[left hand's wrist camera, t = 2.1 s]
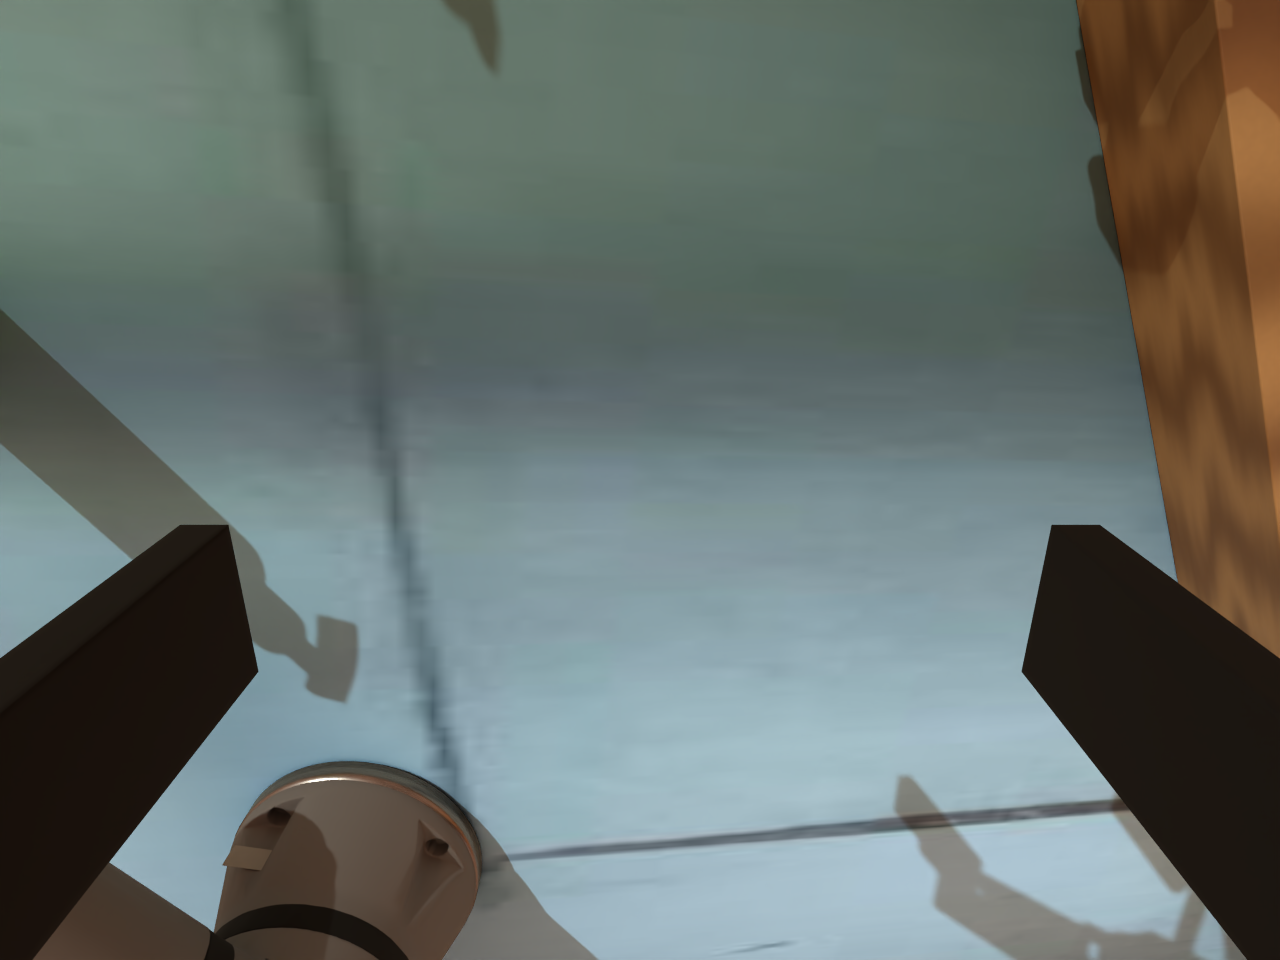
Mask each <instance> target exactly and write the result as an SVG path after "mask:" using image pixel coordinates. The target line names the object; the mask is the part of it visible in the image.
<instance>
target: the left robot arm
mask: <svg viewBox="0 0 1280 960" xmlns="http://www.w3.org/2000/svg"><path fill="white" fill-rule="evenodd" d="M257 673H258V667H257V662H256V657H255V653H254V648H253V643H252V638H251V633H250V628H249V623H248V618H247V614H246V609H245V604H244V599H243V594H242V589H241V584H240V579H239V575H238V570H237V565H236V560H235V555H234V550H233V545H232V540H231V536H230V531H229V526H228V525H180V526H178V527H177V528H175V529H174V530H173V531H171V532H170V533H169V534H167V535H166V536H165V537H163V538H162V539H161V540H159V541H158V542H157V543H155V544H154V545H153V546H151V547H150V548H148V549H147V550H146V551H144V552H143V553H142V554H140V555H139V556H138V557H136V558H135V559H134V560H132V561H131V562H130V563H128V564H127V565H126V566H124V567H123V568H121V569H120V570H119V571H117V572H116V573H115V574H113V575H112V576H111V577H109V578H108V579H107V580H105V581H104V582H103V583H101V584H100V585H99V586H97V587H96V588H94V589H93V590H92V591H90V592H89V593H88V594H86V595H85V596H84V597H82V598H81V599H80V600H78V601H77V602H76V603H74V604H73V605H72V606H70V607H69V608H67V609H66V610H65V611H63V612H62V613H61V614H59V615H58V616H57V617H55V618H54V619H53V620H51V621H50V622H49V623H47V624H46V625H45V626H43V627H42V628H40V629H39V630H38V631H36V632H35V633H34V634H32V635H31V636H30V637H28V638H27V639H26V640H24V641H23V642H22V643H20V644H19V645H18V646H16V647H15V648H13V649H12V650H11V651H9V652H8V653H7V654H5V655H4V656H3V657H1V658H0V960H442V959H443V957H444V955H445V954H446V952H447V951H448V949H449V948H450V946H451V945H452V943H453V942H454V940H455V938H456V937H457V935H458V934H459V932H460V931H461V929H462V928H463V926H464V924H465V923H466V921H467V918H468V916H469V915H470V912H471V910H472V908H473V906H474V902H475V899H476V895H477V891H478V887H479V882H480V878H481V872H482V855H481V849H480V845H479V842H478V839H477V836H476V834H475V832H474V829H473V827H472V826H471V824H470V822H469V821H468V819H467V818H466V816H465V815H464V814H463V813H462V811H461V810H460V809H459V808H458V807H457V806H456V805H455V804H454V803H453V801H451V800H450V799H449V798H448V797H447V796H446V795H444V794H443V793H442V792H440V791H439V790H438V789H436V788H435V787H433V786H432V785H430V784H428V783H427V782H425V781H423V780H421V779H419V778H417V777H415V776H413V775H411V774H408V773H406V772H404V771H401V770H398V769H395V768H391V767H388V766H383V765H379V764H373V763H367V762H356V761H338V762H327V763H321V764H316V765H312V766H308V767H304V768H302V769H299V770H296V771H294V772H292V773H289V774H287V775H285V776H284V777H282V778H280V779H279V780H277V781H276V782H274V783H273V784H272V785H270V786H269V787H268V788H267V789H266V790H265V791H264V792H263V793H262V794H261V795H260V796H259V797H258V798H257V800H256V801H255V803H254V804H253V806H252V807H251V809H250V810H249V812H248V814H247V815H246V817H245V818H244V820H243V822H242V823H241V825H240V826H239V829H238V831H237V833H236V835H235V839H234V842H233V844H232V847H231V851H230V853H229V855H228V857H227V858H226V860H225V861H224V863H223V865H224V866H227V870H226V875H225V880H224V885H223V889H222V894H221V899H220V904H219V909H218V914H217V919H216V924H215V929H214V932H212V931H211V930H210V929H208V928H207V927H206V926H204V925H203V924H201V923H200V922H198V921H197V920H195V919H194V918H192V917H191V916H189V915H188V914H186V913H185V912H183V911H182V910H180V909H179V908H177V907H176V906H174V905H173V904H171V903H170V902H168V901H167V900H165V899H164V898H162V897H161V896H159V895H158V894H156V893H155V892H153V891H152V890H150V889H148V888H147V887H145V886H144V885H142V884H141V883H139V882H138V881H136V880H135V879H133V878H132V877H130V876H129V875H127V874H126V873H124V872H123V871H121V870H120V869H118V868H117V867H115V866H114V865H112V864H111V863H109V862H110V860H111V859H112V858H113V857H114V855H115V854H116V853H117V851H118V850H119V849H120V848H121V846H122V845H123V844H124V842H125V841H126V840H127V839H128V837H129V836H130V835H131V834H132V832H133V831H134V830H135V828H136V827H137V826H138V825H139V823H140V822H141V821H142V819H143V818H144V817H145V816H146V814H147V813H148V812H149V811H150V809H151V808H152V807H153V805H154V804H155V803H156V802H157V800H158V799H159V798H160V797H161V795H162V794H163V793H164V791H165V790H166V789H167V788H168V786H169V785H170V784H171V782H172V781H173V780H174V779H175V777H176V776H177V775H178V774H179V772H180V771H181V770H182V768H183V767H184V766H185V765H186V763H187V762H188V761H189V759H190V758H191V757H192V756H193V754H194V753H195V752H196V751H197V749H198V748H199V747H200V745H201V744H202V743H203V742H204V740H205V739H206V738H207V737H208V735H209V734H210V733H211V731H212V730H213V729H214V728H215V726H216V725H217V724H218V722H219V721H220V720H221V719H222V717H223V716H224V715H225V714H226V712H227V711H228V710H229V708H230V707H231V706H232V705H233V703H234V702H235V701H236V699H237V698H238V697H239V696H240V694H241V693H242V692H243V691H244V689H245V688H246V687H247V685H248V684H249V683H250V682H251V680H252V679H253V678H254V677H255V675H256V674H257ZM1022 673H1023V674H1024V675H1025V677H1026V678H1027V679H1028V680H1029V682H1030V683H1031V684H1032V685H1033V687H1034V688H1035V689H1036V691H1037V692H1038V693H1039V694H1040V696H1041V697H1042V698H1043V699H1044V701H1045V702H1046V703H1047V705H1048V706H1049V707H1050V708H1051V710H1052V711H1053V712H1054V714H1055V715H1056V716H1057V717H1058V719H1059V720H1060V721H1061V722H1062V724H1063V725H1064V726H1065V728H1066V729H1067V730H1068V731H1069V733H1070V734H1071V735H1072V737H1073V738H1074V739H1075V740H1076V742H1077V743H1078V744H1079V745H1080V747H1081V748H1082V749H1083V751H1084V752H1085V753H1086V754H1087V756H1088V757H1089V758H1090V759H1091V761H1092V762H1093V763H1094V765H1095V766H1096V767H1097V768H1098V770H1099V771H1100V772H1101V774H1102V775H1103V776H1104V777H1105V779H1106V780H1107V781H1108V782H1109V784H1110V785H1111V786H1112V788H1113V789H1114V790H1115V791H1116V793H1117V794H1118V795H1119V797H1120V798H1121V799H1122V800H1123V802H1124V803H1125V804H1126V805H1127V807H1128V808H1129V809H1130V811H1131V812H1132V813H1133V814H1134V816H1135V817H1136V818H1137V819H1138V821H1139V822H1140V823H1141V825H1142V826H1143V827H1144V828H1145V830H1146V831H1147V832H1148V834H1149V835H1150V836H1151V837H1152V839H1153V840H1154V841H1155V842H1156V844H1157V845H1158V846H1159V848H1160V849H1161V850H1162V851H1163V853H1164V854H1165V855H1166V857H1167V858H1168V859H1169V860H1170V862H1171V863H1172V864H1173V865H1174V867H1175V868H1176V869H1177V871H1178V872H1179V873H1180V874H1181V876H1182V877H1183V878H1184V879H1185V881H1186V882H1187V883H1188V885H1189V886H1190V887H1191V888H1192V890H1193V891H1194V892H1195V894H1196V895H1197V896H1198V897H1199V899H1200V900H1201V901H1202V902H1203V904H1204V905H1205V906H1206V908H1207V909H1208V910H1209V911H1210V913H1211V914H1212V915H1213V917H1214V918H1215V919H1216V920H1217V922H1218V923H1219V924H1220V925H1221V927H1222V928H1223V929H1224V931H1225V932H1226V933H1227V934H1228V936H1229V937H1230V938H1231V939H1232V941H1233V942H1234V943H1235V945H1236V946H1237V947H1238V948H1239V950H1240V951H1241V952H1242V954H1243V955H1244V956H1245V957H1246V959H1247V960H1280V658H1279V657H1277V656H1276V655H1275V654H1273V653H1272V652H1271V651H1269V650H1268V649H1267V648H1265V647H1264V646H1262V645H1261V644H1260V643H1258V642H1257V641H1256V640H1254V639H1253V638H1252V637H1250V636H1249V635H1248V634H1246V633H1245V632H1244V631H1242V630H1241V629H1240V628H1238V627H1237V626H1235V625H1234V624H1233V623H1231V622H1230V621H1229V620H1227V619H1226V618H1225V617H1223V616H1222V615H1221V614H1219V613H1218V612H1217V611H1215V610H1214V609H1213V608H1211V607H1210V606H1208V605H1207V604H1206V603H1204V602H1203V601H1202V600H1200V599H1199V598H1198V597H1196V596H1195V595H1194V594H1192V593H1191V592H1190V591H1188V590H1187V589H1186V588H1184V587H1183V586H1181V585H1180V584H1179V583H1177V582H1176V581H1175V580H1173V579H1172V578H1171V577H1169V576H1168V575H1167V574H1165V573H1164V572H1163V571H1161V570H1160V569H1159V568H1157V567H1156V566H1154V565H1153V564H1152V563H1150V562H1149V561H1148V560H1146V559H1145V558H1144V557H1142V556H1141V555H1140V554H1138V553H1137V552H1136V551H1134V550H1133V549H1132V548H1130V547H1129V546H1127V545H1126V544H1125V543H1123V542H1122V541H1121V540H1119V539H1118V538H1117V537H1115V536H1114V535H1113V534H1111V533H1110V532H1109V531H1107V530H1106V529H1105V528H1103V527H1102V526H1100V525H1052V526H1051V531H1050V536H1049V540H1048V545H1047V550H1046V555H1045V560H1044V565H1043V570H1042V575H1041V579H1040V584H1039V589H1038V594H1037V599H1036V604H1035V609H1034V614H1033V618H1032V623H1031V628H1030V633H1029V638H1028V643H1027V648H1026V653H1025V657H1024V662H1023V667H1022Z"/></svg>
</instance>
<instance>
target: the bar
mask: <svg viewBox="0 0 1280 960" xmlns="http://www.w3.org/2000/svg"><path fill="white" fill-rule="evenodd" d="M1076 2H1077V7H1078V13H1079V19H1080V25H1081V30H1082V36H1083V42H1084V47H1085V53H1086V59H1087V65H1088V70H1089V76H1090V82H1091V87H1092V93H1093V99H1094V105H1095V110H1096V116H1097V122H1098V127H1099V133H1100V139H1101V145H1102V150H1103V156H1104V162H1105V167H1106V173H1107V179H1108V185H1109V190H1110V196H1111V202H1112V207H1113V213H1114V219H1115V225H1116V230H1117V236H1118V242H1119V248H1120V253H1121V259H1122V265H1123V270H1124V276H1125V282H1126V288H1127V293H1128V299H1129V305H1130V310H1131V316H1132V322H1133V328H1134V333H1135V339H1136V345H1137V350H1138V356H1139V362H1140V368H1141V373H1142V379H1143V385H1144V390H1145V396H1146V402H1147V408H1148V413H1149V419H1150V425H1151V430H1152V436H1153V442H1154V448H1155V453H1156V459H1157V465H1158V470H1159V476H1160V482H1161V488H1162V493H1163V499H1164V505H1165V510H1166V516H1167V522H1168V528H1169V533H1170V539H1171V545H1172V550H1173V556H1174V562H1175V568H1176V573H1177V579H1178V583H1179V584H1180V585H1181V586H1183V587H1184V588H1186V589H1187V590H1188V591H1190V592H1191V593H1192V594H1194V595H1195V596H1196V597H1198V598H1199V599H1200V600H1202V601H1203V602H1204V603H1206V604H1207V605H1208V606H1210V607H1211V608H1213V609H1214V610H1215V611H1217V612H1218V613H1219V614H1221V615H1222V616H1223V617H1225V618H1226V619H1227V620H1229V621H1230V622H1231V623H1233V624H1234V625H1235V626H1237V627H1238V628H1240V629H1241V630H1242V631H1244V632H1245V633H1246V634H1248V635H1249V636H1250V637H1252V638H1253V639H1254V640H1256V641H1257V642H1258V643H1260V644H1261V645H1262V646H1264V647H1265V648H1267V649H1268V650H1269V651H1271V652H1272V653H1273V654H1275V655H1276V656H1277V657H1279V658H1280V0H1076Z"/></svg>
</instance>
